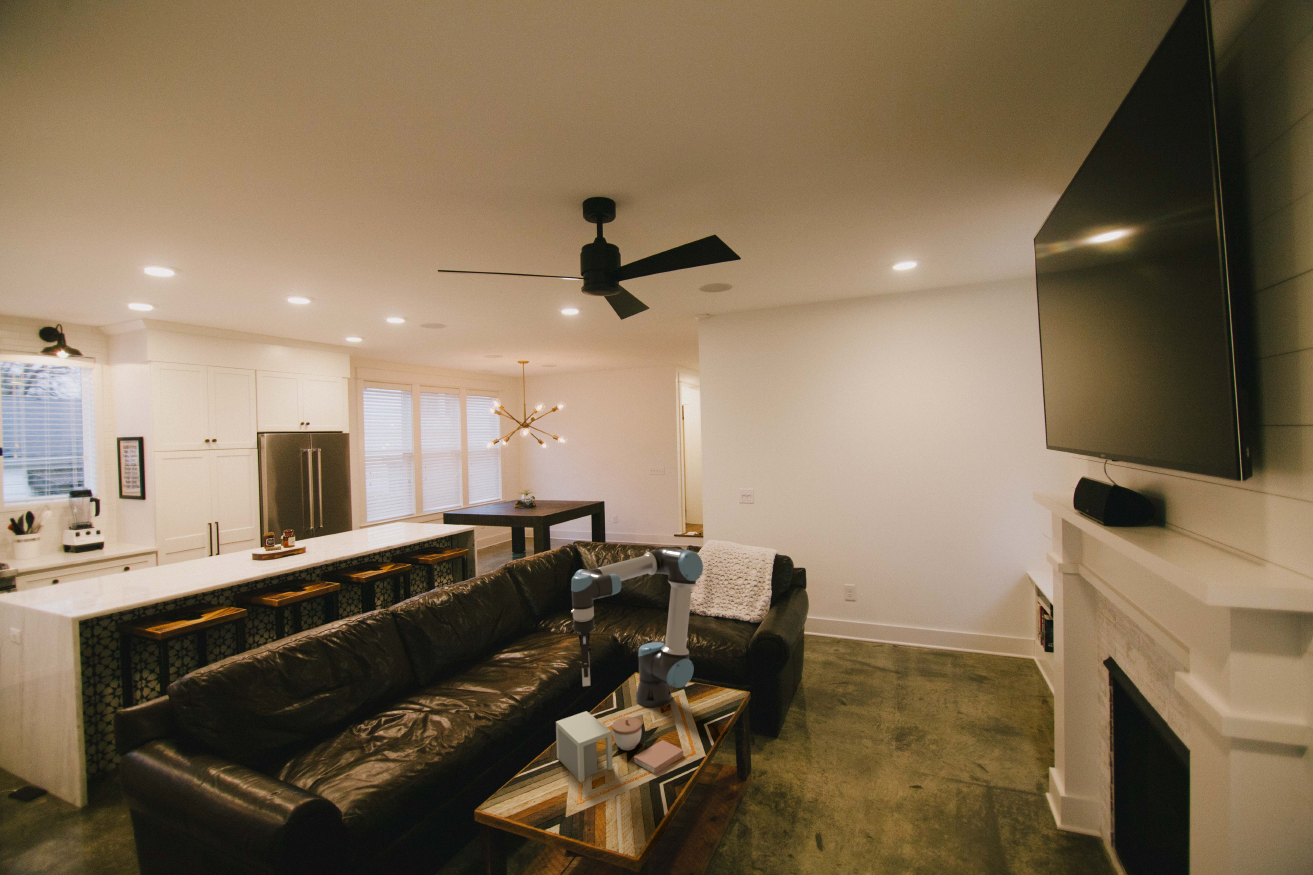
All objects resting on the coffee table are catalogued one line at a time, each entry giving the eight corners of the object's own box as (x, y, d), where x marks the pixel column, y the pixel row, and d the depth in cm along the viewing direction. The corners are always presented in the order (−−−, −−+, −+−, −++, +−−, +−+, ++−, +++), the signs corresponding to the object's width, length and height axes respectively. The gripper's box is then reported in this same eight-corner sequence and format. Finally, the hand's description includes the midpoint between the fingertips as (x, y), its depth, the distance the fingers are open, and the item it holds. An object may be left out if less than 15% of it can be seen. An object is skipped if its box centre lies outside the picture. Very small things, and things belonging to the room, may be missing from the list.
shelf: (587, 745, 195) (586, 710, 196) (612, 768, 181) (611, 730, 181) (557, 757, 188) (555, 721, 189) (580, 782, 174) (579, 743, 174)
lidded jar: (629, 757, 187) (628, 729, 187) (606, 747, 193) (605, 721, 194) (648, 743, 196) (647, 717, 196) (626, 734, 202) (625, 709, 202)
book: (662, 746, 194) (662, 739, 194) (683, 757, 187) (683, 749, 187) (634, 763, 184) (634, 756, 184) (654, 775, 177) (654, 767, 177)
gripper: (573, 609, 207) (576, 664, 207) (572, 630, 182) (575, 693, 182) (593, 607, 208) (595, 662, 208) (594, 628, 183) (597, 691, 183)
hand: (586, 677), depth 195 cm, fingers open, 13 cm apart
